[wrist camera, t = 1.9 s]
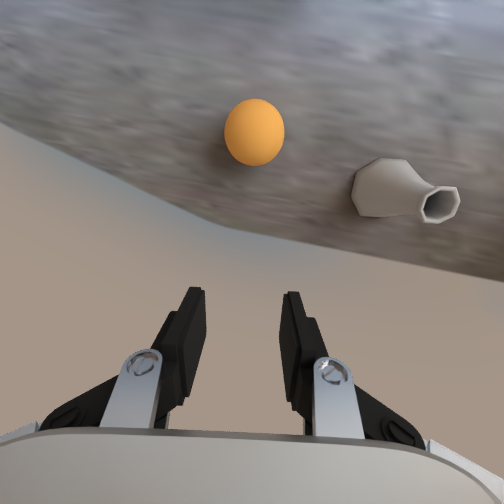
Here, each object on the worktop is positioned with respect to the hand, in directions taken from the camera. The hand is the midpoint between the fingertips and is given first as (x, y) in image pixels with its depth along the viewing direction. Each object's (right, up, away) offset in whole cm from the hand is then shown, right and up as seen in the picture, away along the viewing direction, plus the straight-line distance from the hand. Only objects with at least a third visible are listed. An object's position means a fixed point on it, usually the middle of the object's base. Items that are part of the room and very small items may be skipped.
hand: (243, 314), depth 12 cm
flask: (+16, +11, +16) cm, 25 cm away
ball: (+1, +15, +11) cm, 19 cm away
